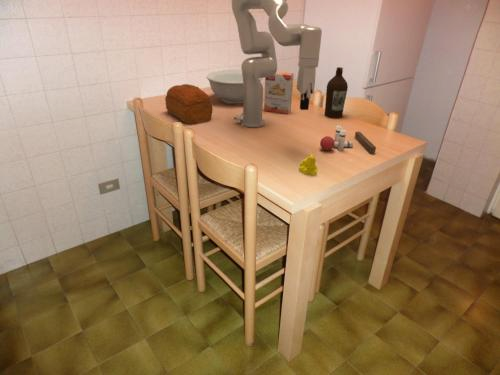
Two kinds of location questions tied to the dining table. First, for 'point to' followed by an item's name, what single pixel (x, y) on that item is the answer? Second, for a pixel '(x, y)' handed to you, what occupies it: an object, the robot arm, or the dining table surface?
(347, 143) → the front pin
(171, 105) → the bread
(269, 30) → the robot arm
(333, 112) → the olive oil
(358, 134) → the dark grey bar
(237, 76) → the bowl
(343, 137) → the pin
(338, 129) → the pin
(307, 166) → the grapes
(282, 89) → the cracker box
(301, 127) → the dining table surface
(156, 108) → the dining table surface
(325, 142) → the ball
